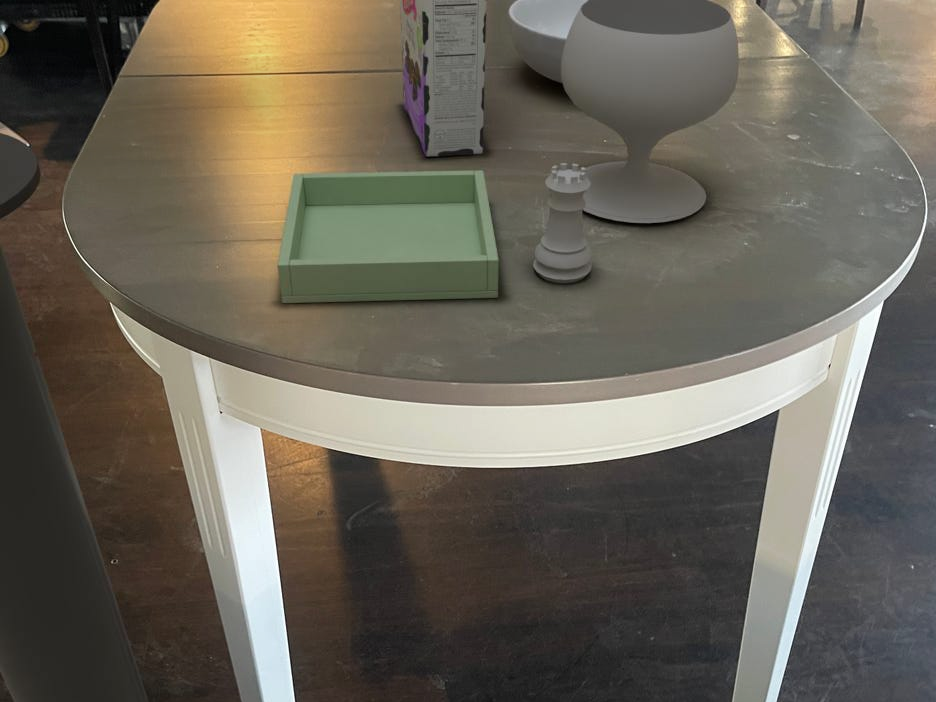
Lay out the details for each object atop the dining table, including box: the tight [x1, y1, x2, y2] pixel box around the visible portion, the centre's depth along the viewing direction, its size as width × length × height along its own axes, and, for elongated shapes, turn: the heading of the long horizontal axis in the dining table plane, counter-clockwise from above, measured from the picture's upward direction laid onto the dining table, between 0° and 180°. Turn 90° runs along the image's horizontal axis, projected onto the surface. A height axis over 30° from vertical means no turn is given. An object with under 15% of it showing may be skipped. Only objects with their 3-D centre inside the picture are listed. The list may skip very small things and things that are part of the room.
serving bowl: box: [507, 0, 589, 84], centre depth 108 cm, size 21×21×7 cm
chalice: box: [561, 0, 740, 224], centre depth 83 cm, size 14×14×15 cm
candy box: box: [399, 0, 488, 158], centre depth 94 cm, size 14×6×16 cm, turn 12°
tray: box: [277, 170, 500, 304], centre depth 78 cm, size 16×16×3 cm
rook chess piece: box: [532, 162, 592, 284], centre depth 75 cm, size 4×4×8 cm
